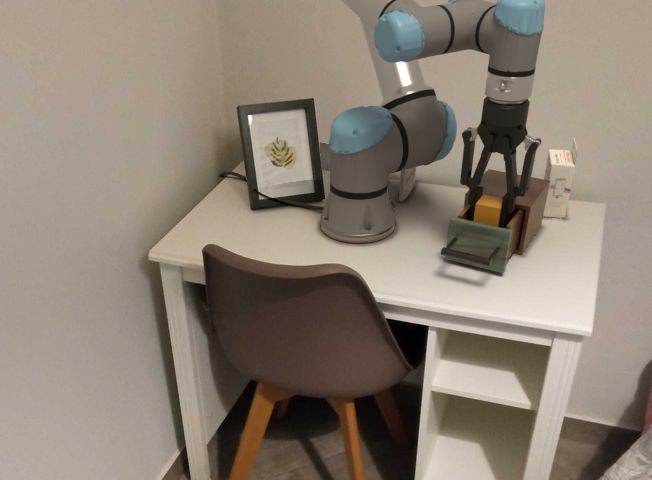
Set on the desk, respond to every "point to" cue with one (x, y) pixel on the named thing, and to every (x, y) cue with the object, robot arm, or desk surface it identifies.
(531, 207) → the cabinet
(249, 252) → the desk surface
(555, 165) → the ink cartridge box
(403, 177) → the cassette
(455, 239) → the drawer
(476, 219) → the block
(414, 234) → the desk surface
